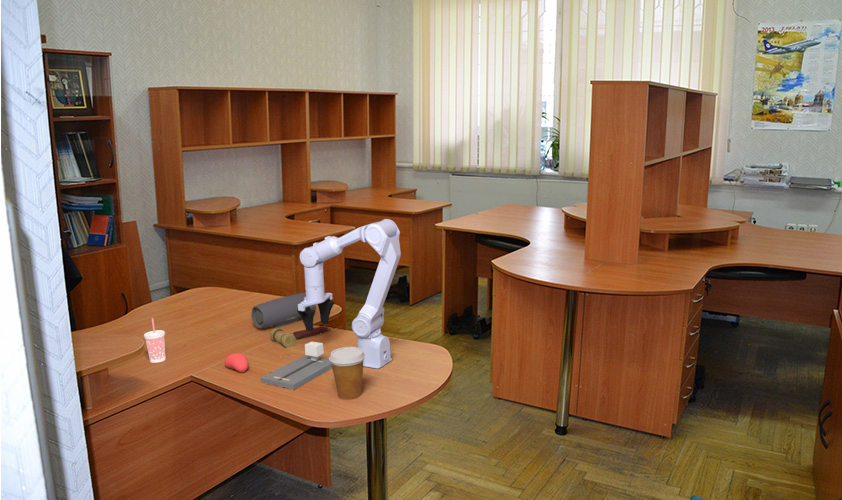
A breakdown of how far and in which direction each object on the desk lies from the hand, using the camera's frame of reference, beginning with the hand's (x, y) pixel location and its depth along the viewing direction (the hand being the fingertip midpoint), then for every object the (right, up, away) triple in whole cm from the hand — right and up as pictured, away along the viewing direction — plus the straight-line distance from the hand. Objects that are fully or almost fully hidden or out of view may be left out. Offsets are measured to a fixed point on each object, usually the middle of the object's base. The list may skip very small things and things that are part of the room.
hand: (317, 326), depth 202 cm
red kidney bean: (-23, -12, -6) cm, 27 cm away
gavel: (-7, -7, +20) cm, 23 cm away
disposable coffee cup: (+13, -15, -28) cm, 34 cm away
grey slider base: (-3, -12, -12) cm, 17 cm away
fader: (0, -9, -6) cm, 11 cm away
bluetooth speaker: (-18, -3, +36) cm, 41 cm away
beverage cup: (-51, -11, +4) cm, 53 cm away
